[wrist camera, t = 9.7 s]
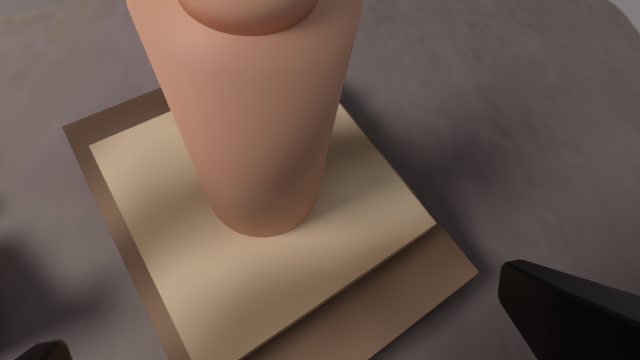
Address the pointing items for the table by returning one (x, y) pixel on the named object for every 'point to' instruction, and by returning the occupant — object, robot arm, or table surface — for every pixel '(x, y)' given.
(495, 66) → the table surface
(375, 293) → the plinth
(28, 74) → the table surface
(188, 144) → the lidded jar
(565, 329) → the robot arm
